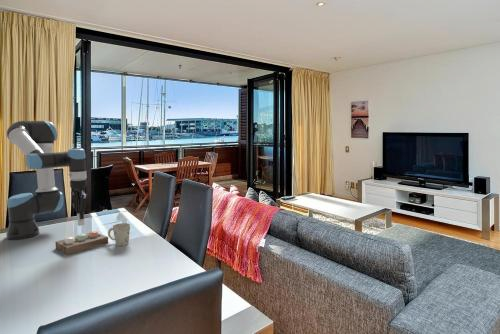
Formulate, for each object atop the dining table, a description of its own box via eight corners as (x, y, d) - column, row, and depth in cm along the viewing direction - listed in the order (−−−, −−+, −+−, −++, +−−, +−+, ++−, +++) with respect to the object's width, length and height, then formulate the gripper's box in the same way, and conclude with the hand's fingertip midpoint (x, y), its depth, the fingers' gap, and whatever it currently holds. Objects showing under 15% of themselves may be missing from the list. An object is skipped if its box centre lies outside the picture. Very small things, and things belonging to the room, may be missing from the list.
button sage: (76, 242, 164) (75, 235, 164) (84, 240, 168) (84, 233, 167) (79, 244, 162) (79, 237, 161) (88, 242, 165) (88, 234, 164)
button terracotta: (87, 239, 169) (87, 232, 168) (96, 237, 172) (95, 230, 172) (91, 241, 166) (91, 234, 166) (100, 239, 170) (99, 231, 169)
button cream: (63, 246, 160) (62, 238, 159) (72, 243, 163) (72, 236, 163) (67, 248, 157) (66, 240, 156) (76, 245, 160) (76, 237, 160)
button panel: (55, 248, 161) (55, 241, 161) (95, 237, 177) (95, 231, 176) (67, 254, 153) (67, 247, 152) (108, 243, 168) (107, 236, 168)
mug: (124, 247, 162) (123, 228, 161) (102, 245, 165) (101, 226, 164) (134, 241, 170) (133, 223, 169) (112, 240, 173) (111, 222, 172)
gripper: (64, 179, 162) (67, 224, 165) (76, 181, 154) (79, 229, 157) (80, 177, 168) (82, 221, 171) (92, 179, 160) (94, 225, 163)
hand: (81, 225), depth 164 cm, fingers closed
